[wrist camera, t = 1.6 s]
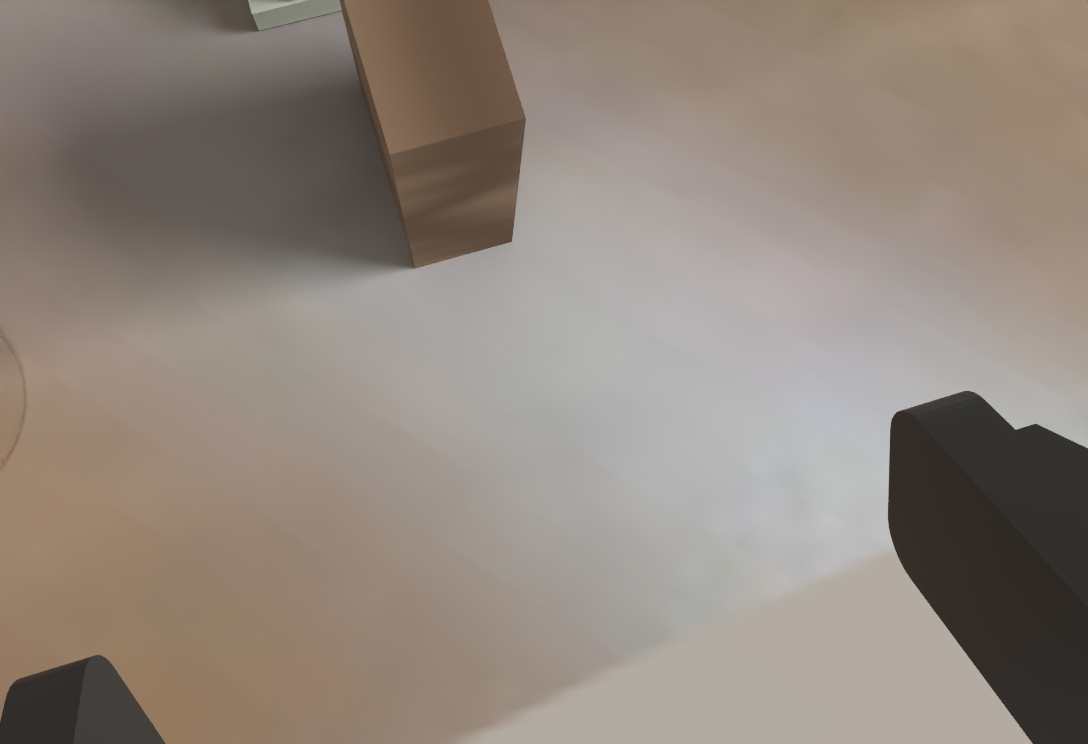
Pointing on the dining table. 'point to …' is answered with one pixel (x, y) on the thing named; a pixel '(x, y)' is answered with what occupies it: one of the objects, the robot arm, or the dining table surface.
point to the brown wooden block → (441, 119)
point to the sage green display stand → (289, 11)
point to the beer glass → (10, 399)
